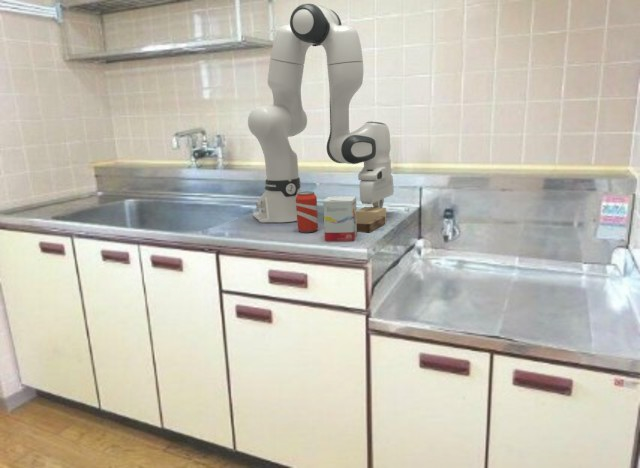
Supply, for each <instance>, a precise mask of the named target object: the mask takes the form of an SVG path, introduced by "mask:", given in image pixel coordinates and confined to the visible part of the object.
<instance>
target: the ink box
mask: <svg viewBox="0 0 640 468" xmlns="http://www.w3.org/2000/svg"><path fill="white" fill-rule="evenodd" d="M322 204H323V221H324V222H323V224H324V225H323V226H324V241H325V242H354V241H355V239H356V238H357V235H358V232H357V216H356V211H357V196H356V195H353V196H352V195H351V196H349V195H348V196H345V195H344V196H341V195H335V196H327V197H325V199H324V200H323V202H322Z"/></svg>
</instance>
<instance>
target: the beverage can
mask: <svg viewBox="0 0 640 468" xmlns="http://www.w3.org/2000/svg"><path fill="white" fill-rule="evenodd" d="M297 194H298V195H297V197H296V209H297V221H296V223H297V230H298V231H300V232H301V233H314V232H316V231H317V230H318V229H319V218H318V201H317V199H318V198H317V195H316V194H315V192H314V191H309V190H307V191H302V192H299V193H297Z"/></svg>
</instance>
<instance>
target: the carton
mask: <svg viewBox="0 0 640 468" xmlns="http://www.w3.org/2000/svg"><path fill="white" fill-rule="evenodd" d="M356 216H357V223H369V222H371V221H373V220H375V219H377V218H379V217H381V216H385V220H386V221H387V207H382V208H381V207H373V206H363V207H361V208H359V209H356Z"/></svg>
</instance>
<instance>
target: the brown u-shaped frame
mask: <svg viewBox="0 0 640 468" xmlns="http://www.w3.org/2000/svg"><path fill="white" fill-rule="evenodd" d="M384 224H385V225H386V221H385V216H381V217H379V218H377V219H375V220H373V221H371V222H369V223H357V233H368V234H369V233H372V232H374V231H375V229H376V230H377V229H379V228H380V227H383V226H384ZM382 225H383V226H382Z"/></svg>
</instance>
